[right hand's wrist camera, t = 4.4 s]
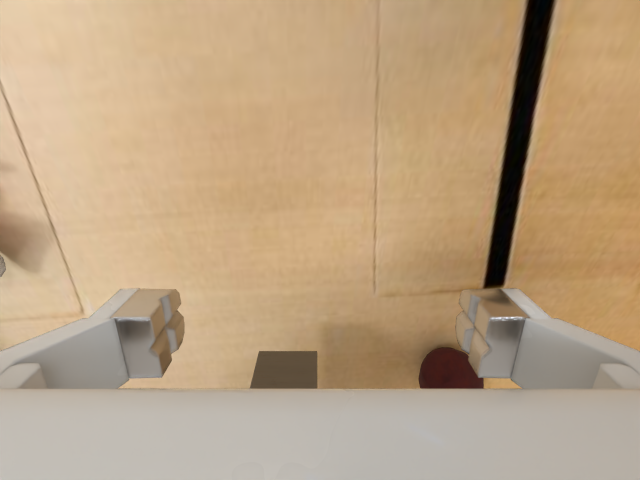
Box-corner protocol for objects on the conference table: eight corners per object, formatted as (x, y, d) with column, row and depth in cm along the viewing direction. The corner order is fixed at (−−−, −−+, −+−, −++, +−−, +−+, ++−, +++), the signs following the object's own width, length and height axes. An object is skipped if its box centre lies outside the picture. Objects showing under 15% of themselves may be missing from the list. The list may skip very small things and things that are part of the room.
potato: (427, 392, 47) (445, 439, 40) (401, 351, 45) (415, 393, 38) (479, 369, 46) (506, 413, 39) (455, 325, 43) (479, 365, 37)
